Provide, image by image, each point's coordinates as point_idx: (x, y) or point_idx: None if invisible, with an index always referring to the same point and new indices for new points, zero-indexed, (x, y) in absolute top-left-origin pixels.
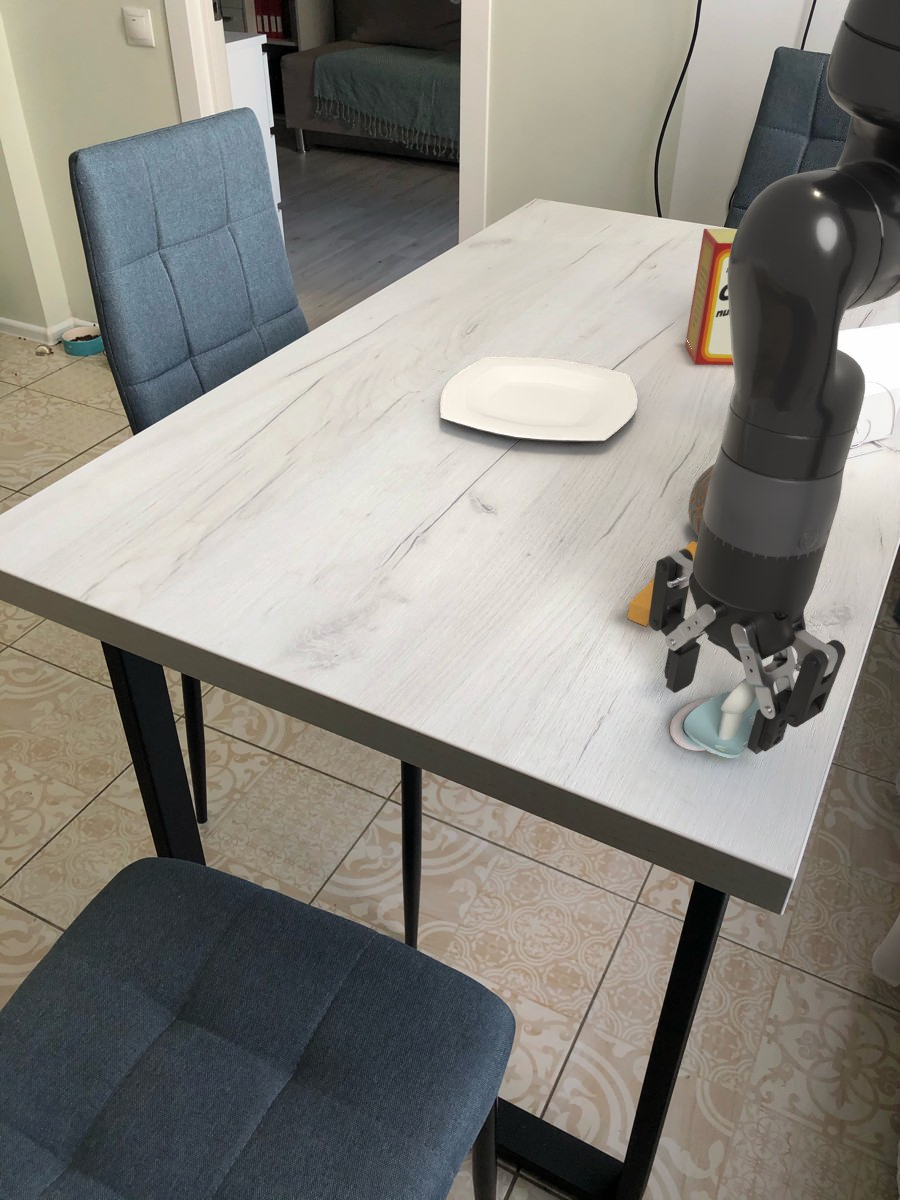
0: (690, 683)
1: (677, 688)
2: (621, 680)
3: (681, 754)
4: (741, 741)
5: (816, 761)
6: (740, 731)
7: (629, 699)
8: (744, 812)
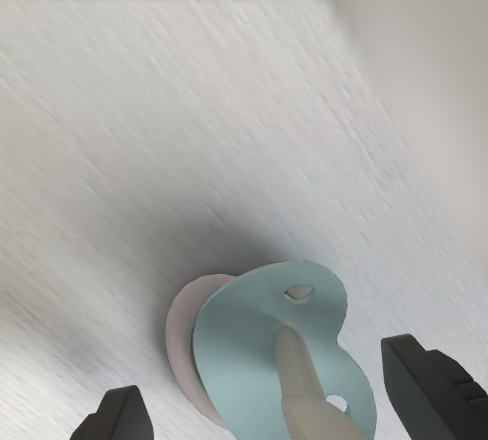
0: (136, 388)
1: (148, 434)
2: (42, 413)
3: None
4: (329, 345)
5: (427, 196)
6: (303, 330)
7: None
8: None
